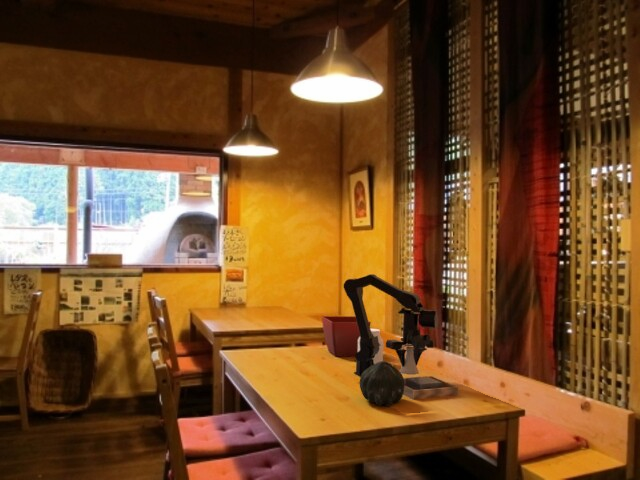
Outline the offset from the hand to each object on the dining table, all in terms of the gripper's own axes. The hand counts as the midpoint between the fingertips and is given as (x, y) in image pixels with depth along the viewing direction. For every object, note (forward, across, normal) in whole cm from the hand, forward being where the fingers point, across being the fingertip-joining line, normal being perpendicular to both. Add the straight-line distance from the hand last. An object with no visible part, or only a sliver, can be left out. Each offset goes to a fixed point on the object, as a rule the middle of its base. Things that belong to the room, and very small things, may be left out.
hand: (409, 366), depth 208 cm
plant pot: (+6, -2, +54) cm, 55 cm away
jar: (+6, 0, +32) cm, 33 cm away
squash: (+6, -24, -22) cm, 33 cm away
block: (+5, -4, -16) cm, 17 cm away
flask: (+3, 0, 0) cm, 3 cm away
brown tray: (+6, -4, -16) cm, 17 cm away
